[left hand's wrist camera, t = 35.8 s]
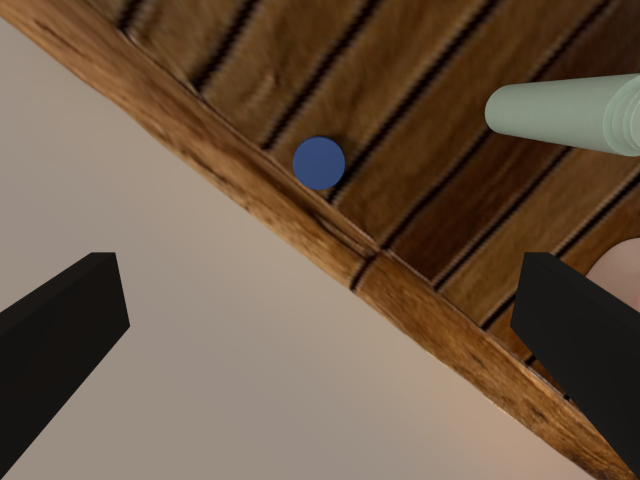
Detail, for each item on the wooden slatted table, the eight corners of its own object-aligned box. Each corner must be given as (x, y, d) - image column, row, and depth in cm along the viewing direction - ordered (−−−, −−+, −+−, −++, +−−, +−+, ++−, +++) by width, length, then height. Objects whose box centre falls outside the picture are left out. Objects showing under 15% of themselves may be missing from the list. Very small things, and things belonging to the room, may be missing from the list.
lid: (354, 154, 40) (356, 156, 38) (326, 196, 41) (326, 200, 40) (311, 124, 39) (311, 125, 37) (283, 169, 40) (282, 172, 39)
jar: (509, 142, 39) (662, 175, 22) (475, 117, 38) (604, 130, 21) (541, 102, 38) (731, 102, 20) (506, 74, 37) (672, 51, 20)
